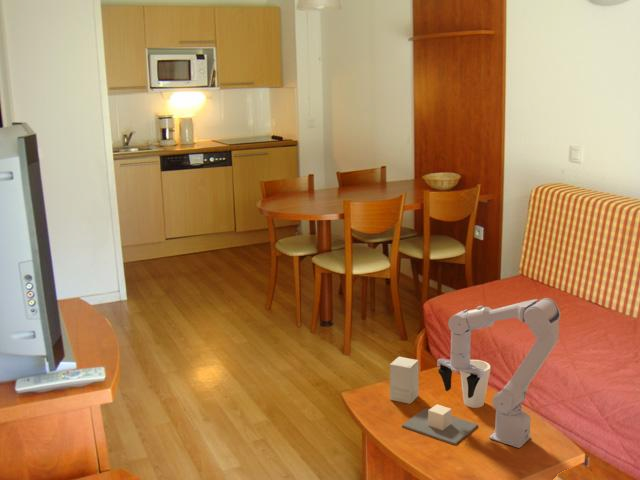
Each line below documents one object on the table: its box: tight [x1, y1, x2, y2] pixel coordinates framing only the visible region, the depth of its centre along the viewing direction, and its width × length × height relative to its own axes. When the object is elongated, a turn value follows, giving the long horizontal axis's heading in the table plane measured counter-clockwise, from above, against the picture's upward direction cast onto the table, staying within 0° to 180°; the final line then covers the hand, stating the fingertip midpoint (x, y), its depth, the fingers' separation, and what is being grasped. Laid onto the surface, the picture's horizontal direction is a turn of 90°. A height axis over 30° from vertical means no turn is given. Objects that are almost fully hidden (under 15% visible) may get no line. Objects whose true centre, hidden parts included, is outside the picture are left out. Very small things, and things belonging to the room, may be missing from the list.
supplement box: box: [389, 356, 420, 405], centre depth 239 cm, size 7×7×13 cm
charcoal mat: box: [401, 407, 479, 446], centre depth 221 cm, size 18×14×1 cm
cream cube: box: [428, 404, 452, 430], centre depth 220 cm, size 5×5×5 cm
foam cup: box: [459, 359, 491, 409], centre depth 234 cm, size 10×9×13 cm
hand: (459, 393), depth 222 cm, fingers open, 7 cm apart
